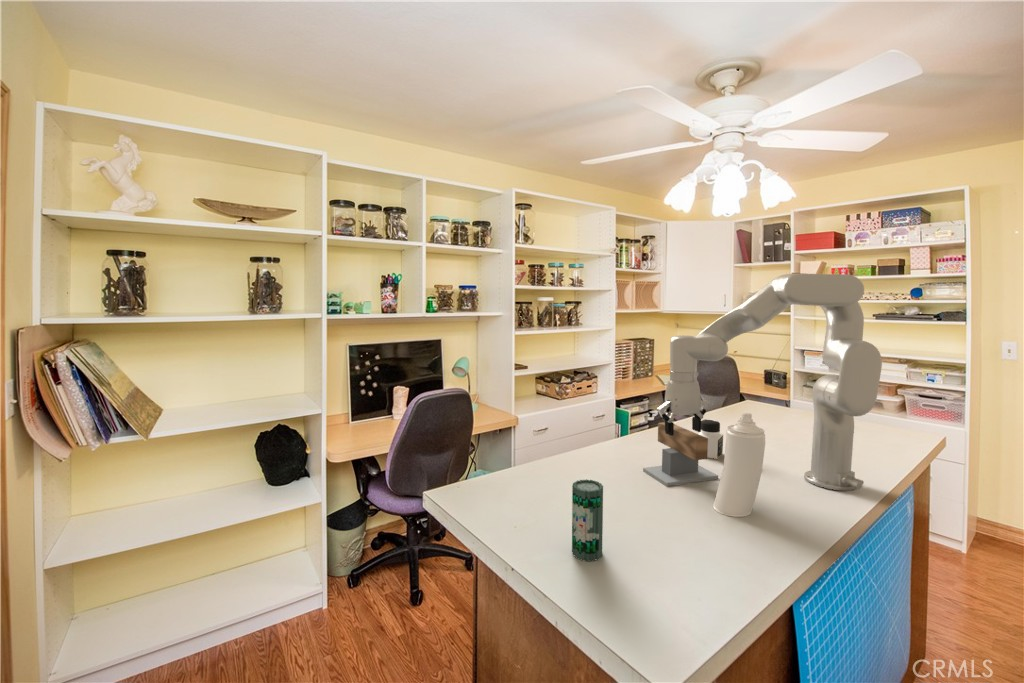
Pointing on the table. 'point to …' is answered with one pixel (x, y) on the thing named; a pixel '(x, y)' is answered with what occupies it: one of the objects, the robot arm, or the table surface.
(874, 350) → the robot arm
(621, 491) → the table surface
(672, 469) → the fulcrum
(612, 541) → the table surface
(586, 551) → the can
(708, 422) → the medicine bottle
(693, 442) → the walnut bar
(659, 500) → the table surface
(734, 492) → the spray can
